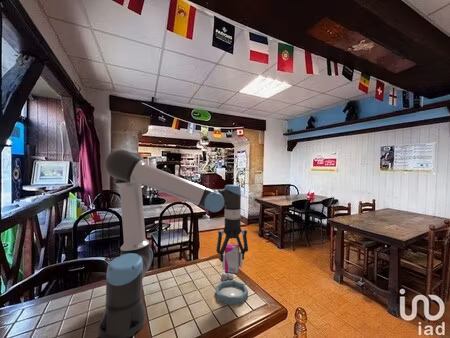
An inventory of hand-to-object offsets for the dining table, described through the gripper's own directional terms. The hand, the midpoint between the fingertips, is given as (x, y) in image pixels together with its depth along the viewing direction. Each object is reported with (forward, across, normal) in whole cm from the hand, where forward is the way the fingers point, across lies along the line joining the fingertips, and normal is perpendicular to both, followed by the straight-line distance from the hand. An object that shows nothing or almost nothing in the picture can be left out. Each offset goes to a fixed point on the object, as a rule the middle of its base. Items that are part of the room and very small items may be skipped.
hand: (232, 267), depth 90 cm
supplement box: (+2, 0, 0) cm, 2 cm away
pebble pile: (+12, +1, +14) cm, 19 cm away
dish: (+12, 0, 0) cm, 12 cm away
